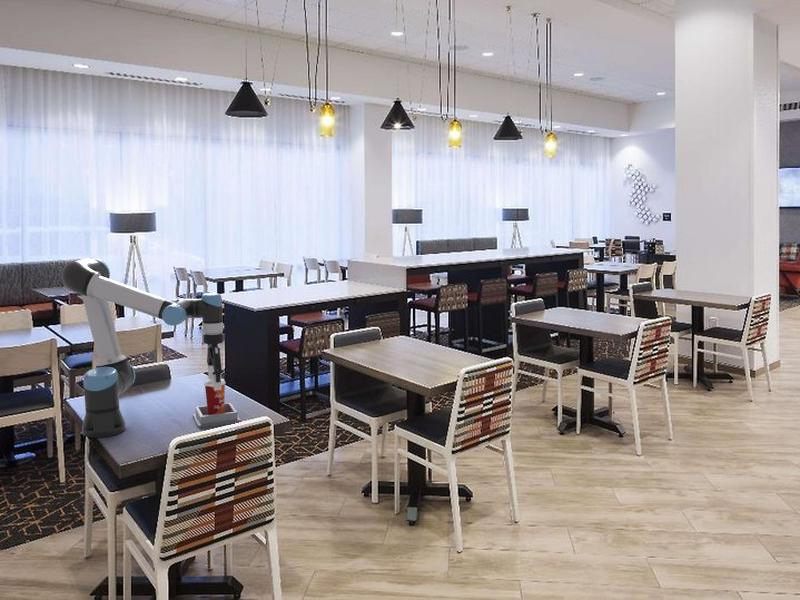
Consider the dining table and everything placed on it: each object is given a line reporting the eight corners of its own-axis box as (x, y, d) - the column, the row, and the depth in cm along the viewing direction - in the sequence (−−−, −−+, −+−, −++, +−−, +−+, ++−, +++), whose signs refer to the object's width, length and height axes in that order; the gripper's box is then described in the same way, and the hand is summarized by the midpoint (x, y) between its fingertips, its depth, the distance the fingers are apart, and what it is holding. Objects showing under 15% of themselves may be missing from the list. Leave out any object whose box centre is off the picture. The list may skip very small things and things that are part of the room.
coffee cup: (221, 420, 263) (219, 383, 260) (201, 419, 264) (200, 382, 262) (230, 414, 271) (229, 377, 269) (211, 412, 272) (210, 376, 270)
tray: (198, 428, 257) (198, 417, 257) (192, 415, 272) (192, 406, 271) (240, 422, 264) (240, 412, 263) (232, 410, 278) (232, 401, 278)
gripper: (228, 338, 253) (230, 392, 256) (217, 326, 275) (219, 377, 278) (208, 339, 250) (210, 394, 253) (198, 328, 272) (200, 379, 275)
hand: (214, 385), depth 266 cm, fingers open, 13 cm apart
